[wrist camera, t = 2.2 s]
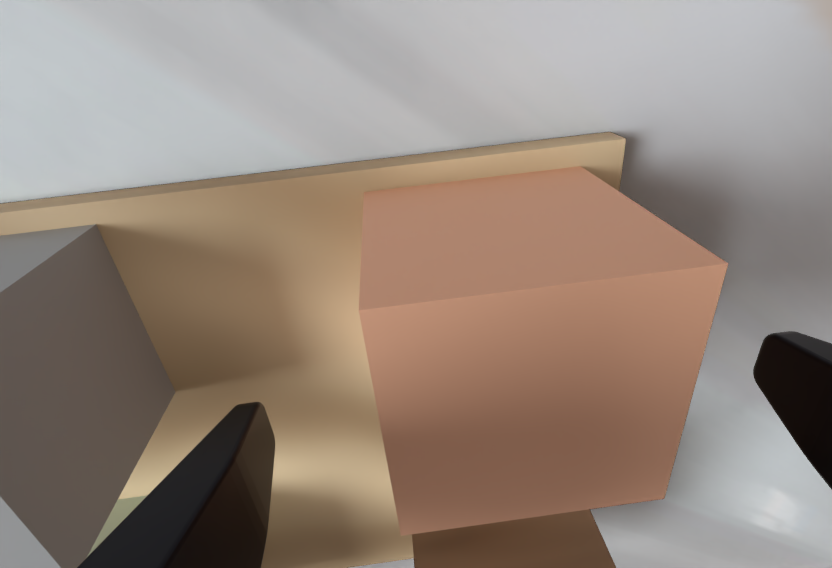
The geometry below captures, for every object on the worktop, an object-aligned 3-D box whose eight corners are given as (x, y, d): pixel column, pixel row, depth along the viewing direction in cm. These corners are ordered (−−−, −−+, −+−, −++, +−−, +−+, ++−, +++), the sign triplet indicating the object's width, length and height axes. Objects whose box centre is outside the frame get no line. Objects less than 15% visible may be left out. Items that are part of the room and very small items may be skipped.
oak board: (567, 515, 18) (575, 535, 18) (114, 579, 18) (104, 602, 17) (609, 131, 11) (625, 138, 10) (-160, 222, 10) (-198, 236, 10)
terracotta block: (565, 341, 13) (664, 498, 9) (391, 363, 13) (400, 535, 8) (580, 166, 11) (727, 263, 6) (363, 192, 10) (358, 310, 6)
